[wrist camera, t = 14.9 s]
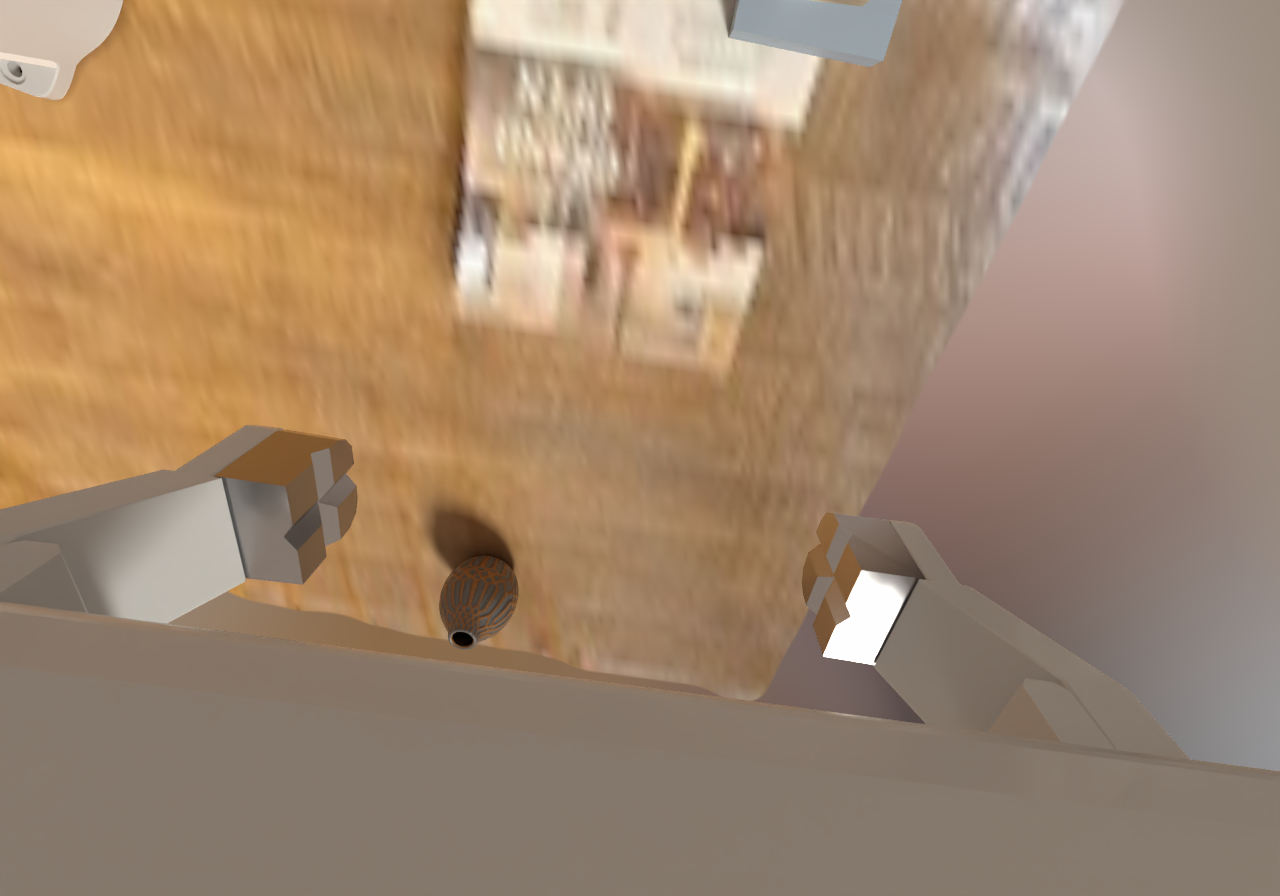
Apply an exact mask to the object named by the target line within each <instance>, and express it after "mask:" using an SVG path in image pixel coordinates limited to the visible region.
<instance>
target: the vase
mask: <svg viewBox="0 0 1280 896" xmlns="http://www.w3.org/2000/svg"><path fill="white" fill-rule="evenodd" d="M517 600H518V582H517V579H516V576H515V573H514V572H513V570H512V569H511V568H510V566H509V565H508V564H507V563H505V562H504V561H502V560H501V559H499V558H496V557H493V556H486V555H481V556H476V557H472V558H469V559H467V560H465V561H464V562H462V563H461V564H459V565H458V566H457V567H456V568H455V569H454V570H453V571H452V572H451V574H450V575H449V577H448V578H447V580H446V582H445V584H444V586H443V588H442V591H441V595H440V603H439V610H440V616H441V619H442V622H443V624H444V626H445V628H446V630H447V631H448V639H449V641H450V643H451V644H452V645H453V646H454V647H456V648H459V649H470V648H473V647H474V646H475V645H476V644H477V643H479V642H481V641H483V640H486V639H488V638H490V637H492V636H494V635H495V634H497V633H498V632H499V631H500V630H502V629H503V627H504V626H505V625H506V624H507V623H508V621H509V620H510V618H511V617H512V615H513V613H514V610H515V607H516V604H517Z"/></svg>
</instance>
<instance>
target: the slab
mask: <svg viewBox="0 0 1280 896" xmlns="http://www.w3.org/2000/svg"><path fill="white" fill-rule="evenodd" d="M901 3H902V0H870V1H868V2H867V3H866V4H864V5H863V6H853V5H845V4H837V3H829V2H820V1H812V0H736V4H735V9H734V14H733V19H732V24H731V29H730V34H729V38H732V39H737V40H742V41H746V42H751V43H756V44H761V45H766V46H770V47H775V48H780V49H785V50H789V51H794V52H799V53H804V54H809V55H813V56H818V57H823V58H828V59H833V60H837V61H842V62H847V63H852V64H856V65H861V66H866V67H870V66H873V65H875V64H877V63H879V62H882V61H883V60H884V57H885V54H886V50H887V47H888V44H889V41H890V38H891V34H892V31H893V28H894V25H895V22H896V19H897V15H898V12H899V9H900V6H901Z"/></svg>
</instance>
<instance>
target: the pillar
mask: <svg viewBox="0 0 1280 896" xmlns="http://www.w3.org/2000/svg"><path fill="white" fill-rule="evenodd" d="M812 1H820V2H829V3H837V4H845V5H853V6H863V5H864V4H866V3H867V2H868V1H870V0H812Z"/></svg>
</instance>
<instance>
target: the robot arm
mask: <svg viewBox="0 0 1280 896" xmlns="http://www.w3.org/2000/svg"><path fill="white" fill-rule="evenodd" d="M122 3H123V0H0V84H3V85H6V86H9V87H11V88H14V89H17V90H19V91H22V92H25V93H27V94H30V95H33V96H36V97H40V98H45V99H50V100H60V99H62V98H63V97H64V96H65V95H66V93H67V91H68V89H69V87H70V85H71V82H72V79H73V76H74V72H75V69H76V65H77V64H78V63H79V62H80V60H82V59H83V58H84V57H85V56H86V55H87V54H89V53H90V52H91V51H93V50H94V49H95V48H97V47H98V46H99V45H100V44H101V43H102V42H103V41H104V40H105V39H106V38H107V37H108V35H109V34H110V32H111V31H112V29H113V27H114V25H115V24H116V22H117V19H118V16H119V14H120V11H121V7H122ZM19 66H20V68H21V70H22V73H21V72H20V69H19ZM353 464H354V460H353V453H352V446H351V445H350V444H349V443H348V442H347V441H346V440H345V439H339V438H333V437H327V436H321V435H315V434H309V433H303V432H297V431H291V430H284V429H281V428H274V427H267V426H259V425H246V426H244V427H243V428H241V429H239V430H238V431H236V432H235V433H233V434H232V435H230V436H229V437H227V438H225V439H224V440H222V441H221V442H219V443H218V444H216V445H215V446H213V447H211V448H210V449H208V450H207V451H205V452H204V453H202V454H201V455H199V456H197V457H196V458H194V459H193V460H191V461H190V462H188V463H186V464H185V465H183V466H182V467H180V468H179V469H177V470H176V471H170V470H160V471H156V472H152V473H148V474H144V475H140V476H136V477H132V478H128V479H124V480H120V481H115V482H111V483H107V484H103V485H99V486H95V487H91V488H87V489H83V490H79V491H75V492H71V493H66V494H62V495H58V496H54V497H50V498H46V499H42V500H38V501H34V502H30V503H26V504H22V505H17V506H13V507H9V508H5V509H1V510H0V896H1280V771H1273V770H1265V769H1258V768H1250V767H1243V766H1235V765H1227V764H1220V763H1212V762H1205V761H1197V760H1190V759H1189V758H1188V756H1187V755H1186V754H1185V753H1184V752H1183V751H1182V750H1181V748H1180V747H1179V746H1178V745H1177V744H1176V743H1175V742H1174V741H1173V740H1172V738H1171V737H1170V736H1169V735H1168V734H1167V733H1166V731H1165V730H1164V729H1163V728H1162V727H1161V726H1160V724H1159V723H1158V722H1157V721H1156V720H1155V719H1154V718H1153V717H1152V716H1151V714H1150V713H1149V712H1148V711H1147V710H1146V709H1145V708H1144V706H1143V705H1142V704H1141V703H1140V702H1139V701H1138V699H1137V698H1136V697H1135V696H1134V695H1133V694H1132V693H1131V691H1129V690H1128V689H1126V688H1125V687H1123V686H1122V685H1120V684H1119V683H1117V682H1116V681H1114V680H1113V679H1111V678H1109V677H1108V676H1106V675H1105V674H1103V673H1102V672H1100V671H1099V670H1097V669H1096V668H1094V667H1093V666H1091V665H1089V664H1088V663H1086V662H1085V661H1083V660H1082V659H1080V658H1079V657H1077V656H1076V655H1074V654H1073V653H1071V652H1070V651H1068V650H1066V649H1065V648H1063V647H1062V646H1060V645H1059V644H1057V643H1056V642H1054V641H1053V640H1051V639H1050V638H1048V637H1046V636H1045V635H1043V634H1042V633H1040V632H1039V631H1037V630H1036V629H1034V628H1033V627H1031V626H1029V625H1028V624H1026V623H1025V622H1023V621H1022V620H1020V619H1019V618H1017V617H1016V616H1014V615H1013V614H1011V613H1009V612H1008V611H1006V610H1005V609H1003V608H1002V607H1000V606H999V605H997V604H996V603H994V602H993V601H991V600H990V599H988V598H987V597H985V596H983V595H982V594H980V593H978V592H977V591H976V590H974V589H973V588H971V587H968V586H963V585H960V584H959V583H958V581H957V580H956V578H955V577H954V575H953V574H952V573H951V571H950V570H949V568H948V567H947V565H946V564H945V563H944V561H943V560H942V558H941V557H940V555H939V554H938V553H937V551H936V550H935V548H934V547H933V546H932V544H931V543H930V541H929V540H928V539H927V537H926V536H925V534H924V533H923V531H922V530H921V529H920V527H919V526H917V525H915V524H913V523H910V522H900V521H892V520H883V519H874V518H867V517H858V516H850V515H842V514H834V513H826V514H825V515H824V517H823V518H822V519H821V521H820V524H819V526H818V529H817V531H816V532H817V535H818V537H819V540H820V542H821V544H819V545H818V546H817V547H815V548H814V549H812V550H811V551H810V552H808V555H807V558H806V561H805V564H804V567H803V576H802V589H803V596H804V599H805V602H806V605H807V606H808V607H809V608H810V609H811V610H812V611H813V612H815V613H816V614H817V616H816V618H815V621H814V623H813V626H814V630H815V633H816V636H817V639H818V642H819V645H820V647H821V650H822V654H823V656H826V657H832V658H838V659H844V660H850V661H856V662H862V663H868V664H874V668H875V669H876V670H877V671H878V672H879V673H880V674H881V675H882V676H883V677H884V679H885V680H886V681H887V682H888V683H889V684H890V685H891V686H892V687H893V688H894V689H895V691H896V692H897V693H898V694H899V695H900V696H901V697H902V698H903V699H904V700H905V701H906V703H907V704H908V705H909V706H910V707H911V708H912V709H913V710H914V711H915V712H916V713H917V715H919V717H920V718H921V719H922V720H923V721H924V722H925V723H926V724H927V725H926V724H917V723H910V722H902V721H895V720H888V719H879V718H872V717H865V716H857V715H850V714H842V713H835V712H828V711H820V710H813V709H805V708H797V707H790V706H783V705H775V704H768V703H760V702H753V701H745V700H738V699H730V698H723V697H715V696H708V695H701V694H693V693H685V692H678V691H670V690H663V689H655V688H648V687H641V686H633V685H625V684H617V683H610V682H603V681H595V680H587V679H580V678H572V677H565V676H556V675H549V674H542V673H533V672H526V671H519V670H511V669H503V668H496V667H488V666H480V665H473V664H466V663H458V662H451V661H443V660H436V659H428V658H421V657H413V656H406V655H398V654H391V653H383V652H375V651H368V650H361V649H352V648H346V647H338V646H330V645H323V644H316V643H308V642H301V641H292V640H286V639H277V638H270V637H263V636H256V635H248V634H241V633H233V632H226V631H218V630H211V629H203V628H196V627H188V626H180V625H173V624H167V623H168V622H170V621H172V620H174V619H176V618H178V617H180V616H182V615H183V614H185V613H187V612H189V611H191V610H192V609H195V608H196V607H198V606H200V605H202V604H204V603H206V602H208V601H209V600H211V599H213V598H215V597H217V596H219V595H221V594H223V593H225V592H226V591H228V590H230V589H232V588H234V587H236V586H238V585H239V584H241V583H243V582H245V581H246V578H248V579H257V580H267V581H276V582H285V583H294V584H304V583H305V582H306V580H307V579H308V578H309V577H310V576H311V574H312V573H313V572H314V571H315V570H316V569H317V567H318V566H319V565H320V564H321V563H322V561H323V560H324V559H325V558H326V550H325V546H327V545H329V544H331V543H333V542H336V541H338V540H340V539H342V537H343V536H344V535H345V533H346V532H347V531H348V530H349V528H350V526H351V524H352V521H353V519H354V516H355V514H356V508H357V499H358V498H357V487H356V485H355V484H354V483H353V481H352V480H351V479H350V478H349V477H348V475H347V474H346V473H347V472H348V470H349V469H350V468H351V467H352V465H353Z"/></svg>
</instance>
